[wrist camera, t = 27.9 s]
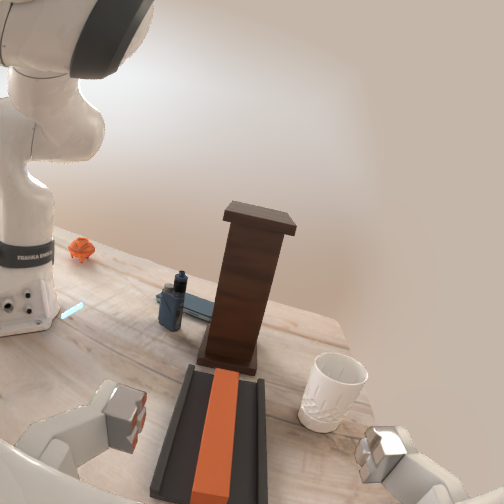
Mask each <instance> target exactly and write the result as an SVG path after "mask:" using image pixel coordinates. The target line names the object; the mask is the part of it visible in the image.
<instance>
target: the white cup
mask: <svg viewBox="0 0 504 504" xmlns="http://www.w3.org/2000/svg"><path fill="white" fill-rule="evenodd" d="M367 378H368V372H367V370H366V368H365V367H364V366H363V365H362V364H361V363H360V362H358V361H357V360H355V359H354V358H352V357H349V356H347V355H344V354H340V353H334V352H327V353H322V354H319V355H318V356H317V357H316V358H315V361H314V364H313V367H312V370H311V373H310V376H309V379H308V382H307V385H306V388H305V391H304V395H303V397H302V402H301V405H300V408H299V411H298V417H299V420H300V422H301V423H302V424H303V425H304V426H305V427H306V428H308V429H310V430H312V431H315V432H320V433H328V432H331V431H334V430H335V429H336V428H337V427H338V426H339V425H340V423H341V422H342V420H343V418H344V417H345V416H346V414H347V413H348V411H349V410H350V408H351V407H352V405H353V403H354V402H355V400H356V398H357V397H358V395H359V393H360V391H361V389H362V388H363V386H364V384H365V382H366V380H367Z"/></svg>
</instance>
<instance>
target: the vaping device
mask: <svg viewBox="0 0 504 504" xmlns="http://www.w3.org/2000/svg"><path fill="white" fill-rule="evenodd" d="M187 279H188V277H187V276H186V275H185V272H184V271H179V274H176V275H175V280H174V285H172V284H165V286H164V289H163V291H162V293H161V299H160V308H159V317H158V319H159V323H160V324H161V325H163V326H165V327H166V328H168V329H169V330H171V331H177V330H179V329H180V327H181V320H182V313H183V307H184V300H185V292H186V285H187Z"/></svg>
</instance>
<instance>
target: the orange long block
mask: <svg viewBox="0 0 504 504" xmlns="http://www.w3.org/2000/svg"><path fill="white" fill-rule="evenodd" d="M238 381H239V372H234V371H229V370H224V369H219V368H216V369H215V374H214V379H213V384H212V389H211V394H210V399H209V404H208V409H207V414H206V420H205V425H204V430H203V435H202V441H201V446H200V451H199V456H198V462H197V467H196V472H195V478H194V483H193V489H192V494H191V500H190V503H191V504H226V503H227V501H228V498H229V491H230V478H231V466H232V454H233V441H234V429H235V417H236V405H237V393H238Z"/></svg>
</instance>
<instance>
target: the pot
mask: <svg viewBox="0 0 504 504" xmlns="http://www.w3.org/2000/svg"><path fill="white" fill-rule="evenodd" d="M68 248H69V251H70V252H71V257H72V258H73V256H75V257H77V258H80V262H81V263H83V261H84V258H89V256H90V255H92V254H93V253H94V251H95V248H94V246H93V245H92V243H91V242H89V241H88V239H86V238H77V239H76V240H75V241H73V242H72V243H71V244H70V245H69V247H68Z"/></svg>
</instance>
